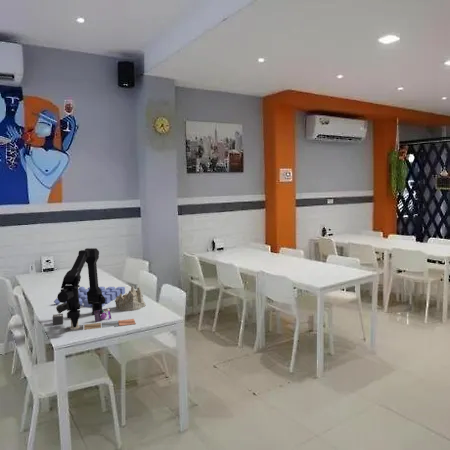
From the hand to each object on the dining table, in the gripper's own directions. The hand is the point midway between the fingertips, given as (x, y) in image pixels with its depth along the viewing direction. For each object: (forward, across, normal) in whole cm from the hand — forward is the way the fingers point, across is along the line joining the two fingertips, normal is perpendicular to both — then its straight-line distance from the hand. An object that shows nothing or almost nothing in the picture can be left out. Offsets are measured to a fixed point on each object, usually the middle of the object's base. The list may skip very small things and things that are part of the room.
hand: (74, 326), depth 226 cm
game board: (+2, 0, +14) cm, 14 cm away
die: (+2, -12, -9) cm, 15 cm away
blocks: (+2, -60, +8) cm, 61 cm away
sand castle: (+2, -30, +32) cm, 44 cm away
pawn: (+1, 0, 0) cm, 1 cm away
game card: (+2, -10, +14) cm, 17 cm away
